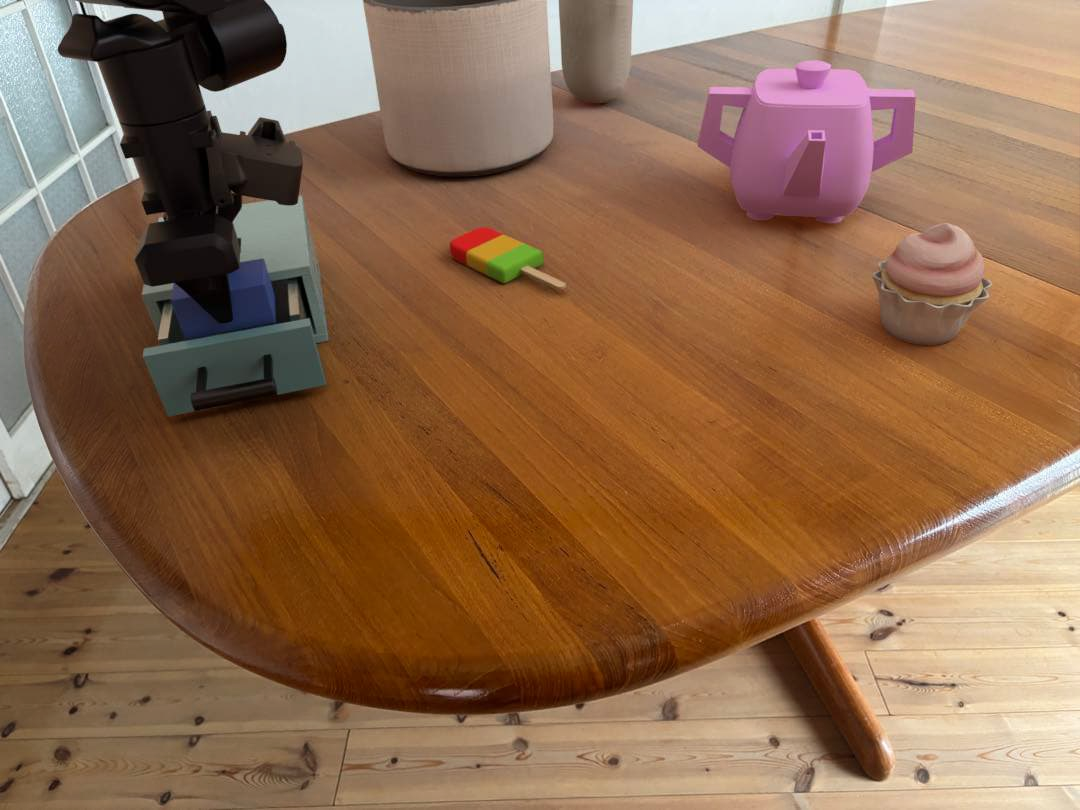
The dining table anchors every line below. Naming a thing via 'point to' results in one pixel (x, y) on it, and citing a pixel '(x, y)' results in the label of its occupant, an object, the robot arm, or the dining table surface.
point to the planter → (462, 82)
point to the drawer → (237, 358)
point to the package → (248, 303)
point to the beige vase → (596, 47)
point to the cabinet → (269, 256)
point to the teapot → (806, 139)
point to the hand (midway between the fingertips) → (227, 306)
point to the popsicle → (500, 256)
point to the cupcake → (931, 285)
